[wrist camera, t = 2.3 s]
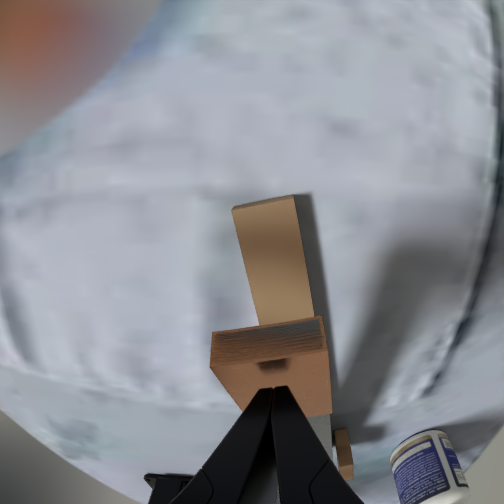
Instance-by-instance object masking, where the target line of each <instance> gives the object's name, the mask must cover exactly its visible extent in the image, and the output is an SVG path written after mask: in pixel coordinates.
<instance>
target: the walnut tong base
mask: <svg viewBox="0 0 504 504" xmlns="http://www.w3.org/2000/svg"><path fill="white" fill-rule="evenodd" d="M231 211H232V215H233V219H234V224H235V228H236V232H237V236H238V240H239V244H240V248H241V252H242V256H243V260H244V264H245V269H246V273H247V277H248V281H249V285H250V289H251V293H252V297H253V301H254V305H255V309H256V313H257V317H258V321H259V325H260V326H261V325H267V324H274V323H280V322H286V321H292V320H298V319H304V318H309V317H314V311H313V304H312V298H311V292H310V286H309V280H308V274H307V268H306V262H305V257H304V251H303V245H302V240H301V234H300V229H299V224H298V218H297V213H296V208H295V203H294V198H293V195H288V196H283V197H278V198H273V199H268V200H263V201H258V202H253V203H248V204H243V205H238V206H234V207H233V209H232V210H231ZM334 431H335V443H336V452H337V460H338V468H339V472H340V474H341V475H342V477H343V478H344V480H345V481H347V480H352V479H353V468H354V464H353V458H352V452H351V446H350V441H349V435H348V429H347V428H345V429H340V430H334ZM278 489H279V486H278Z"/></svg>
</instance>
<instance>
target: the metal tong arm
mask: <svg viewBox="0 0 504 504" xmlns="http://www.w3.org/2000/svg"><path fill="white" fill-rule="evenodd" d="M210 368H211V370H212V371H213V373H214V374H215V375H216V377H217V378H218V379H219V381H220V382H221V384H222V385H223V386H224V388H225V389H226V390H227V392H228V393H229V394H230V396H231V397H232V398H233V400H234V401H235V402H236V404H237V405H238V406H239V408H240V409H241V410H242V412H243V411H244V410H245V408H246V407H247V405H248V404H249V403H250V401H251V400H252V398H253V397H254V395H255V394H256V393H257V391H258V390H259V389H261V388H268V387H272V388H273V389H274V387H276V386H284V385H287V386H288V387H289V388H290V390H291V392H292V394H293V395H294V397H295V399H296V401H297V402H298V404H299V406H300V407H301V409H302V411H303V413H304V414H305V416H306V418H307V419H308V421H309V423H310V425H311V426H312V428H313V430H314V431H315V433H316V435H317V436H318V438H319V440H320V442H321V443H322V445H323V447H324V448H325V450H326V452H327V453H328V455H329V457H330V458H331V460H332V461H333V454H332V438H331V423H330V414H331V413H332V397H331V383H330V369H329V357H328V348H327V342H326V337H325V331H324V326H323V321H322V315H320V316H315V317H309V318H304V319H298V320H292V321H286V322H280V323H274V324H267V325H261V326H254V327H247V328H240V329H233V330H225V331H218V332H212V343H211V356H210Z"/></svg>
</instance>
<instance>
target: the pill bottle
mask: <svg viewBox="0 0 504 504" xmlns="http://www.w3.org/2000/svg"><path fill="white" fill-rule="evenodd" d="M390 462H391V467H392V471H393V475H394V479H395V483H396V487H397V491H398V495H399V499H400V503H401V504H466V503H467V501H468V499H469V496H470V490H469V487H468V484H467V482H466V479H465V477H464V474H463V471H462V469H461V467H460V464H459V462H458V459H457V457H456V454H455V452H454V450H453V447H452V445H451V443H450V440H449V438H448V436H447V435H446V434H445V433H444V432H442V431H439V430H431V431H426V432H422V433H419V434H417V435H414V436H412V437H410V438H409V439H407V440H405V441H404V442H403V443H401V444H400V445H399V446H398V447H397V448H396V449H395V450H394V452H393V453H392V455H391V459H390Z"/></svg>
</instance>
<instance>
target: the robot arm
mask: <svg viewBox="0 0 504 504" xmlns="http://www.w3.org/2000/svg"><path fill="white" fill-rule="evenodd" d="M144 480H145V481H146V482H147V483H148V484H149V485H150V487H151V488H152V489H153V490H152V493H151V496H150V499H149V502H148V504H276V499H277V491H278V486H279V495H280V503H281V504H364V502H363V501H362V500H361V499H360V498H359V497H358V496H357V495H356V494H355V492H354V491H353V490H352V489H351V488H350V486H349V485H348V484H347V483H346V481H345V480H344V478H343V477H342V475H341V474H340V472H339V471H338V469H337V468H336V466H335V465H334V463H333V461H332V460H331V458H330V457H329V455H328V453H327V452H326V450H325V448H324V447H323V445H322V443H321V442H320V440H319V438H318V436H317V435H316V433H315V431H314V430H313V428H312V426H311V425H310V423H309V421H308V419H307V418H306V416H305V414H304V413H303V411H302V409H301V407H300V406H299V404H298V402H297V401H296V399H295V397H294V395H293V394H292V392H291V390H290V388H289V387H288V386H287V385H284V386H276V387H274V389H273V388H272V387H268V388H261V389H259V390H258V391H257V393H256V394H255V395H254V397H253V398H252V400H251V401H250V403H249V404H248V405H247V407H246V408H245V410H244V411H243V413H242V414H241V415H240V417H239V418H238V420H237V421H236V422H235V424H234V425H233V426H232V428H231V429H230V431H229V432H228V433H227V435H226V436H225V437H224V439H223V440H222V441H221V443H220V444H219V445H218V447H217V448H216V449H215V451H214V452H213V453H212V455H211V456H210V457H209V458H208V460H207V461H206V462H205V464H204V465H203V466H202V469H200V470H199V471H198V472H197V474H196V475H195V476H194V477H193V478H181V477H168V476H157V475H145V476H144Z"/></svg>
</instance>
